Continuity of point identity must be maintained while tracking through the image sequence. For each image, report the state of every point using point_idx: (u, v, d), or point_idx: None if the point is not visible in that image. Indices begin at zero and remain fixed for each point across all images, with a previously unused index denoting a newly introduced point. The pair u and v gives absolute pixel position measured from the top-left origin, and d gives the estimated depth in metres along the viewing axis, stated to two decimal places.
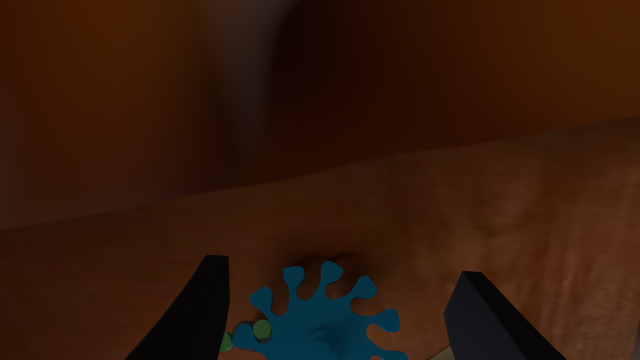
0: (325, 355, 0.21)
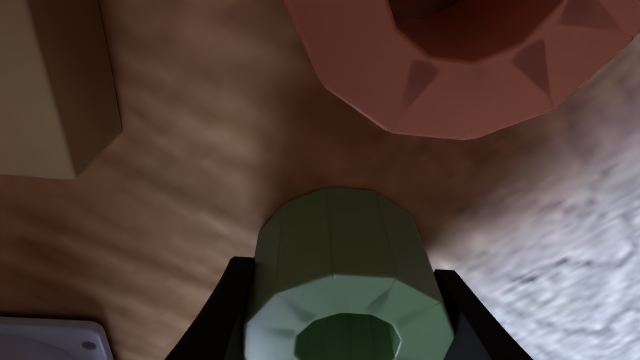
0: None
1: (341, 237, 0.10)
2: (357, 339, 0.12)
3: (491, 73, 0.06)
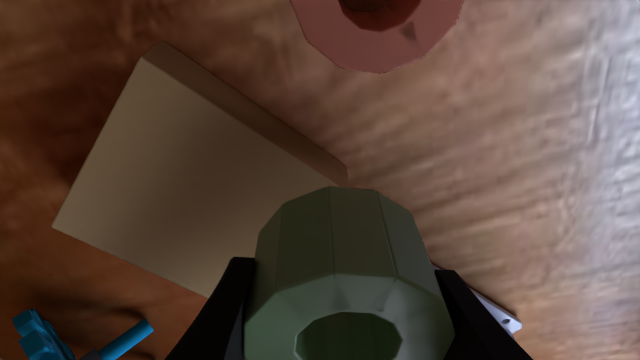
0: None
1: (341, 236, 0.10)
2: (357, 338, 0.12)
3: None
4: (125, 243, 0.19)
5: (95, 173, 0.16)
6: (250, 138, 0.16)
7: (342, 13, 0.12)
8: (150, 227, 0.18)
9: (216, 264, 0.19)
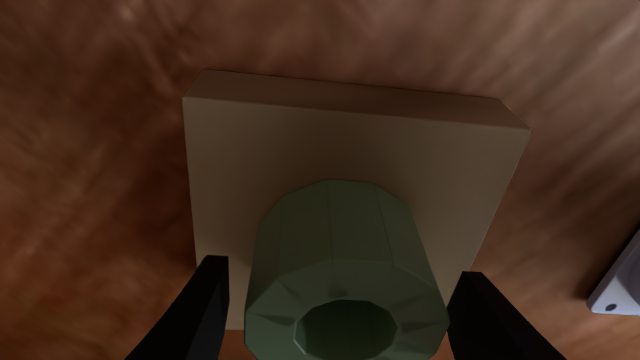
0: None
1: (339, 226, 0.10)
2: (355, 328, 0.12)
3: None
4: None
5: None
6: (357, 126, 0.11)
7: None
8: None
9: None
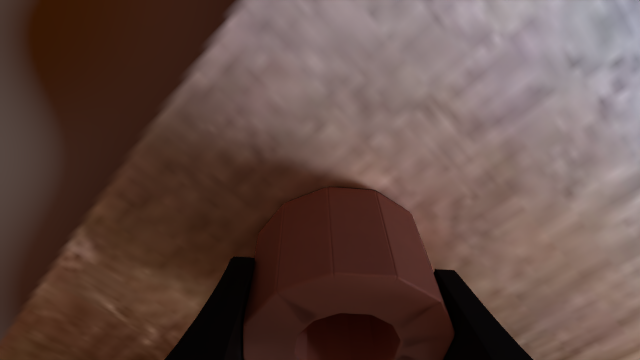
0: None
1: None
2: None
3: (410, 329, 0.10)
4: None
5: None
6: None
7: None
8: None
9: None
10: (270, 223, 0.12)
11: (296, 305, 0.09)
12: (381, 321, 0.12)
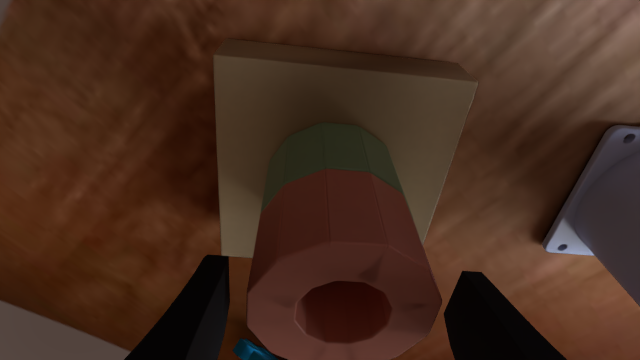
0: None
1: (331, 149, 0.13)
2: None
3: (400, 297, 0.11)
4: None
5: (231, 188, 0.17)
6: (345, 78, 0.14)
7: (325, 341, 0.12)
8: None
9: None
10: (272, 203, 0.13)
11: (296, 273, 0.10)
12: (375, 294, 0.12)
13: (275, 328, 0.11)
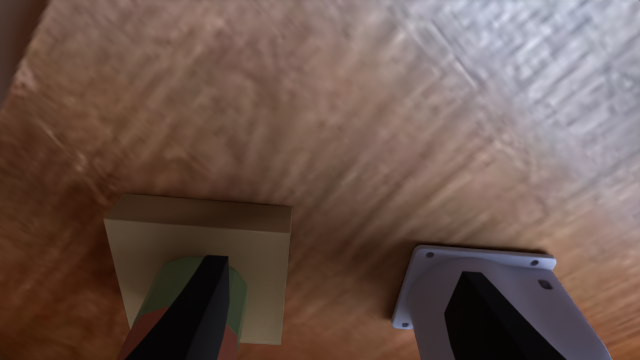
0: None
1: (179, 287, 0.20)
2: None
3: None
4: None
5: (130, 294, 0.23)
6: (196, 231, 0.21)
7: None
8: None
9: None
10: (133, 327, 0.19)
11: None
12: None
13: None
